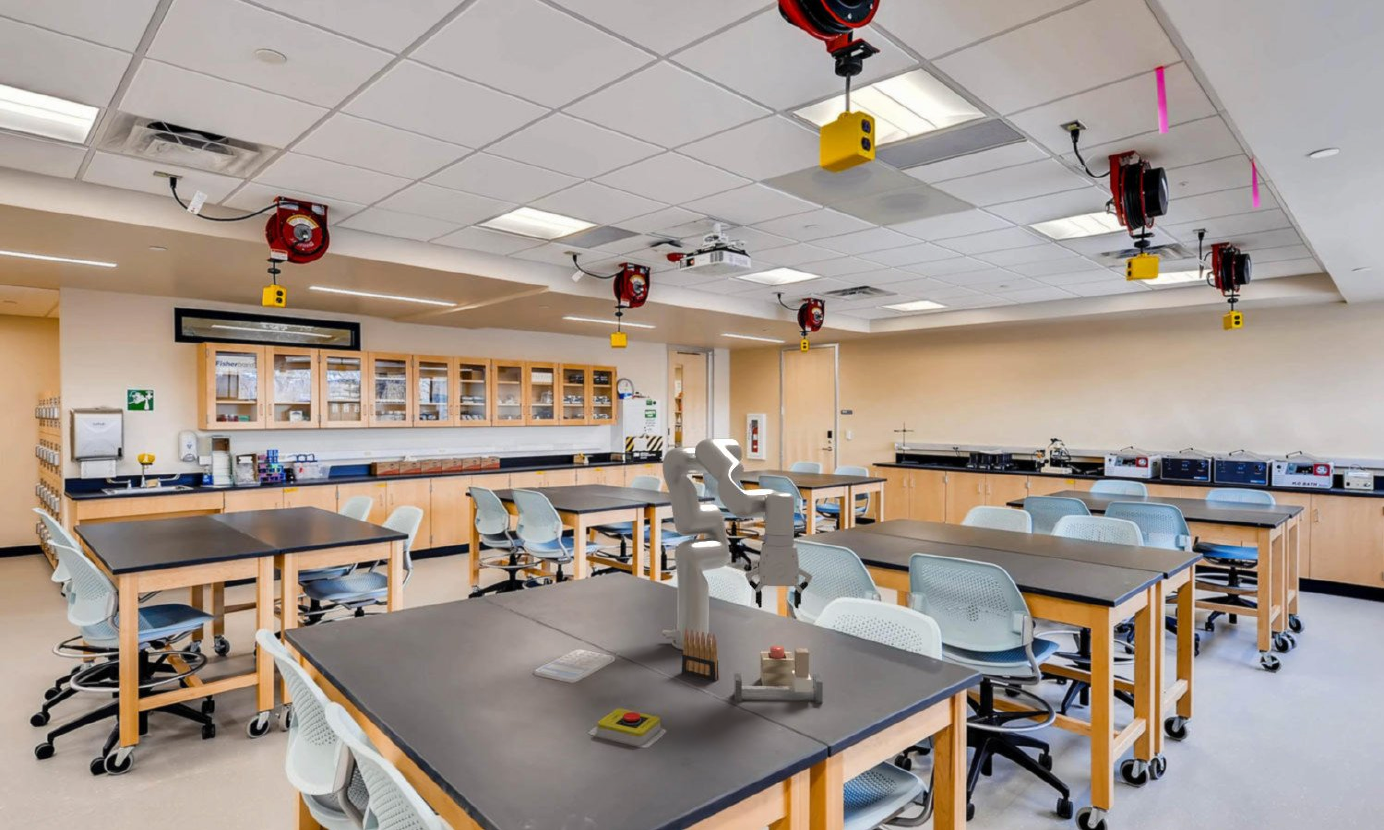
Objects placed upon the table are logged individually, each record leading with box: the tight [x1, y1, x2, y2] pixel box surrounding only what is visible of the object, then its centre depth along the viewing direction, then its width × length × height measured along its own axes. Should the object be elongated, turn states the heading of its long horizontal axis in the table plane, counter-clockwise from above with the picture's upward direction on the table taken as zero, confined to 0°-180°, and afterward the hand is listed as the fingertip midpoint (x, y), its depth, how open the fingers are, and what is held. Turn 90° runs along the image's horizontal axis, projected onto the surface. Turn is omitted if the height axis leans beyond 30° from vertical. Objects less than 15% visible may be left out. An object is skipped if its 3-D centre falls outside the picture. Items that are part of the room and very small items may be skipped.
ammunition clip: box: [681, 628, 720, 683], centre depth 182 cm, size 11×2×12 cm, turn 56°
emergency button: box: [588, 708, 667, 749], centre depth 149 cm, size 9×4×15 cm
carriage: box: [792, 647, 813, 692], centre depth 168 cm, size 4×6×9 cm, turn 0°
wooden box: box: [760, 651, 795, 686], centre depth 178 cm, size 8×6×7 cm
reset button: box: [769, 645, 785, 659], centre depth 178 cm, size 4×4×4 cm
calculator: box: [534, 648, 616, 684], centre depth 188 cm, size 13×20×2 cm, turn 153°
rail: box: [733, 672, 824, 704], centre depth 168 cm, size 21×5×5 cm, turn 90°
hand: (778, 606), depth 178 cm, fingers open, 9 cm apart
